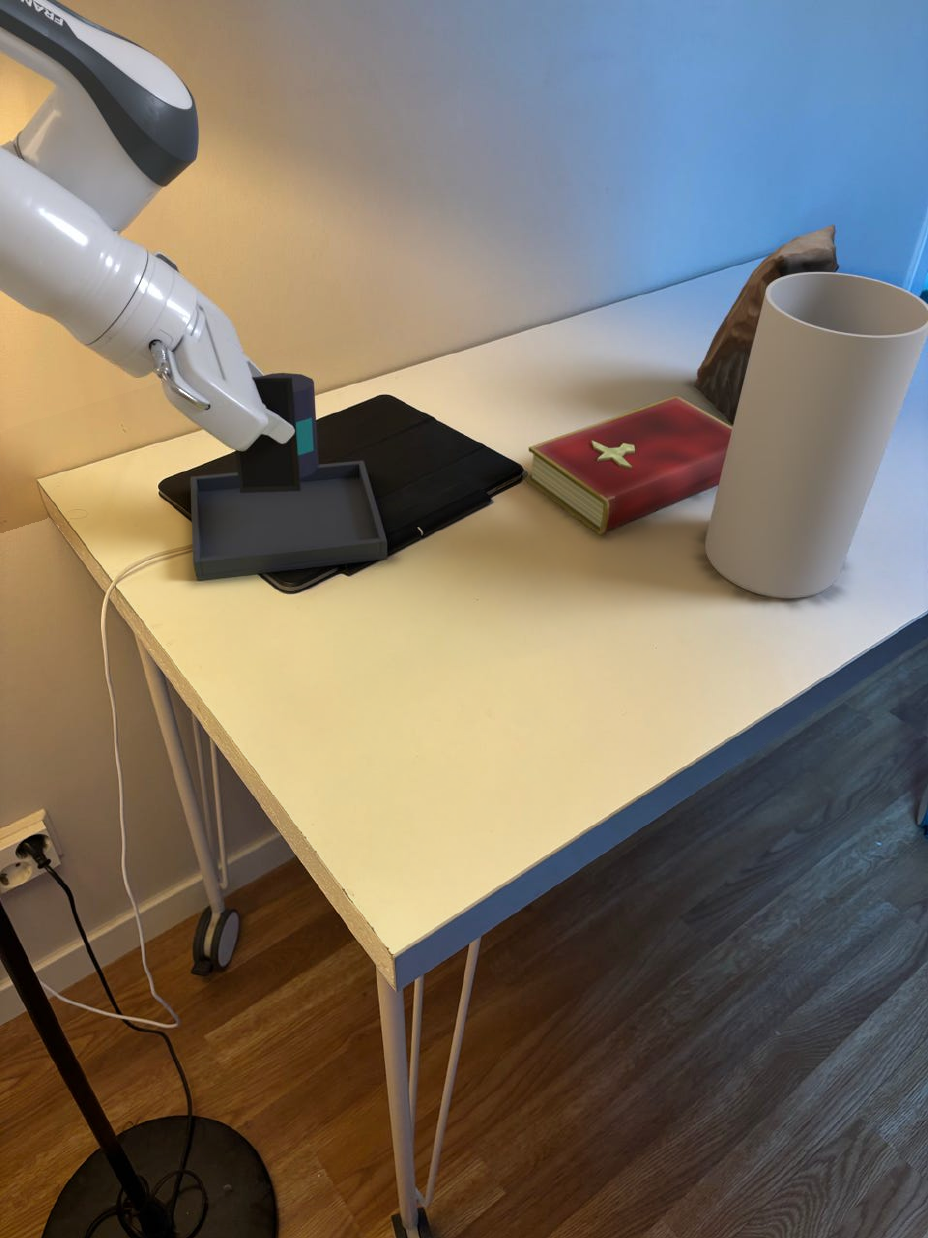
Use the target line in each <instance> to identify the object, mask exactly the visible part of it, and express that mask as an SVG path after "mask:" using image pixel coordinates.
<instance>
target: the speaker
mask: <svg viewBox="0 0 928 1238" xmlns="http://www.w3.org/2000/svg"><path fill="white" fill-rule="evenodd" d="M252 379H253V380H254V382H255V385H256V388H257V390H258V393H259V396H260V398H261V401H262V403H263V404H264V405H265V406H266V409H268V410H270V411H272V412H273V413H275V414H277V413H280V414H281V415H282V416H283V417H284V418H286V419H287V420H288V421H289V422H290V423H291V424H292V425H293V428H294V430H295V433H294V435H293V436H292V437H291V438H290V439H289V440H288V441H287V442H286V443H284V444H281V443H279V442H277V441H276V440H274V439H273V438H271V437H270V436H268V435H264V434H261V435H260V436H259V437H258V438H257V439H256V440H255V441H254V443H253V444H252V445H251V446H250V447H249V448H248V449H247V450H245V451H237V450H234V453H235V460H236V461H235V462H236V471H237V472H238V479H239V487H240V493H254V492H289V491H301V488H300V478H302V477H305V476H308V475H311V474H313V473H314V472H315V470H316V469H317V468H318V467H319V465H320V464H319V447H318V445H319V444H318V429H317V409H316V391H315V381H314V379H313V378H311V377H309V376H306V375H304V374H301V373H291V372H290V373H289V372H276V373H273V372H272V373H268V374H265V375H264V376H260V377H252Z"/></svg>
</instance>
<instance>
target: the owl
mask: <svg viewBox="0 0 928 1238" xmlns="http://www.w3.org/2000/svg"><path fill="white" fill-rule="evenodd" d="M836 233H837V230H836V225H835V224H830V225H827V226H825V227H823V228H820V229H818V230H815V231H813V232H809V233H806V234H803V235H800V236H796V237H793V239H791V240H790V241H788V242H787V243H784V244H783V245H781V246H780V247H778V248H777V249H776V250H775V251H774V252H772V253H770V254H769V255H768V256H766V257H765V258H764V259H763V260H762V261H761V262H760V263H759V265H757V266H756V268H754V269H753V271H752V272H751V274H750V276H749V278H748V279H747V281H746V282H745V283H744V285H743V287H742V288H741V290H740V292H739V294H738V295H737V297H736V299H735V301H734V302H733V304H732V305H731V307H730V309H729V311H728V313H727V315H725V317H724V319H723V321H722V322H721V325H720V326H719V328H718V330H717V331H716V332H715V334H714V336H713V339H712V340H711V343H710V345H709V347H708V350H707V352H706V354H705V356H704V359H703V360H702V362H701V364H700V366H699V367H698V368H697V371H696V376H697V377H696V381H695V382H694V384H693V386H694V387H695V388H696V389H698V391H700V392H701V393H702V395H704V396H705V398H706V399H707V400H708V401H709V402H711V403H712V404H713V405H714V406H715V409H716V410H717V411H719V412H720V413H722V414H723V415H725V416H726V419H727V421H728V422H729V423H731V424H732V425H733V424H734V420H735V416H736V412H737V408H738V404H739V399H740V395H741V391H742V387H743V383H744V379H745V375H746V371H747V366H748V362H749V358H750V354H751V350H752V346H753V342H754V338H755V334H756V329H757V325H758V321H759V317H760V313H761V309H762V305H763V301H764V297H765V292H766V289H767V287H768V285H769V284H770V283H772V282H773V281H775V280H776V279H779V278H781V277H784V276H787V275H792V274H798V273H807V272H832V273H837V271H838V270H839V269H840V264H838V258H837V246H836V245H835V235H836Z"/></svg>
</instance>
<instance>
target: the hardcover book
mask: <svg viewBox="0 0 928 1238" xmlns="http://www.w3.org/2000/svg"><path fill="white" fill-rule="evenodd" d="M732 428H733V426H731V425H730V424H728V423H726V422H724V421H722V420H721V419H719V418H717V417H716V416H714V415H712V414H710V413H709V412H707V411H705V410H703V409H702V408H699V407H698V406H697V405H695V404H692V402H689V401H687V400H686V399H684V398H682V397H680V396H678V395H676V394H675V395H674V396H671V397H668V398H665V399H663V400H659V401H657V402H654V403H651V404H648V405H645V406H643V407H640V408H637V409H633V410H631V411H628V412H626V413H622V414H620V415H619V414H618V415H617V416H614V417H611V418H608V419H605V420H602V421H600V422H596V423H594V424H591V425H588V426H585V427H583V428H580V429H577V430H574V431H571V432H568V433H565V434H562V435H560V436H556V437H555V438H550V439H549V440H546V441H542V442H540V443H537V444H534V445H531V446H528V452H530V453H531V454H532V455H533V456H532V457H533V458H532V469H531V475H528V476H526V477H525V481H526V482H528V483H529V484H530V485H532V486H533V487H534V488H536V489H537V490H538V491H539V492H541V493H542V494H544V495H545V496H546V497H548V498H549V499H550V500H551V501H553V502H555V504H557V505H559V506H560V507H561V508H563V509H564V510H565V511H566V512H568V513H569V514H570V515H572V516H574V518H576V519H577V520H578V521H580V522H582V524H584V525H585V526H587V527H588V528H589V529H591V530H592V531H594V532H595V533H596V534H598V535H599V536H600V535H601V536H602V535H603V534H605V533H607V532H610V531H612V530H615V529H617V528H619V527H622V526H624V525H626V524H630V523H631V522H634V521H636V520H638V519H641V518H643V517H646V516H648V515H650V514H653V513H655V512H657V511H660V510H663V509H664V508H667V507H669V506H671V505H674V504H677V503H678V502H681V501H684V500H686V499H689V498H691V497H693V496H696V495H698V494H701V493H702V492H705V491H707V490H709V489H712V488H714V487H718V486H719V482H720V478H721V474H722V469H723V465H724V461H725V457H726V453H727V449H728V445H729V441H730V436H731V432H732Z"/></svg>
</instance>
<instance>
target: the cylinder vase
mask: <svg viewBox="0 0 928 1238" xmlns="http://www.w3.org/2000/svg"><path fill="white" fill-rule="evenodd" d="M927 338H928V303H927V302H926V301H925V300H924V299H922V298H921V297H919V296H918V295H916V294H915V293H913V292H910V291H909V290H906V289H904V288H902V287H899V286H897V285H895V284H893V283H889V282H886V281H882V280H880V279H876V278H871V277H867V276H862V275H856V274H849V273H842V272H835V273H832V272H807V273H798V274H792V275H787V276H784V277H781V278H779V279H776V280H775V281H773V282H772V283H770V284H769V285H768V287H767V289H766V292H765V297H764V301H763V305H762V309H761V313H760V317H759V321H758V325H757V329H756V334H755V338H754V342H753V346H752V350H751V354H750V358H749V362H748V366H747V371H746V375H745V379H744V383H743V387H742V391H741V395H740V399H739V404H738V408H737V412H736V416H735V420H734V424H732V427H733V428H732V432H731V436H730V441H729V445H728V449H727V453H726V457H725V461H724V465H723V469H722V474H721V478H720V482H719V485H717V491H716V495H715V498H714V503H713V507H712V511H711V515H710V518H709V523H708V527H707V531H706V537H705V539H704V548H705V549H704V550H705V553H706V556H707V559H708V560H709V562H710V564H711V565H712V567H713V568H714V569H715V571H717V572H718V573H719V574H720V575H721V576H722V577H723V578H724V579H726V580H728V581H729V582H731V583H732V584H733V585H735V586H737V587H739V588H742V589H743V590H746V591H748V592H751V593H755V594H758V595H760V596H766V597H771V598H778V599H800V598H801V599H802V598H806V597H810V596H814V595H817V594H820V593H823V592H824V591H826V590H827V589H828V588H830V587H831V586H833V584H835V583H836V582H837V580H838V578H839V577H840V575H841V573H842V569H843V567H844V564H845V561H846V559H847V556H848V553H849V550H850V547H851V546H852V542H853V541H854V540H853V539H854V537H855V533H856V532H857V529H858V526H859V523H860V520H861V518H862V516H863V513H864V509H865V508H866V504H867V502H868V499H869V496H870V494H871V491H872V488H873V485H874V482H875V480H876V477H877V475H878V472H879V469H880V466H881V464H882V461H883V458H884V455H885V454H886V450H887V447H888V445H889V442H890V440H891V436H892V434H893V431H894V428H895V425H896V423H897V420H898V417H899V414H900V412H901V409H902V407H903V403H904V402H905V398H906V395H907V393H908V390H909V388H910V384H911V382H912V379H913V376H914V374H915V371H916V368H917V365H918V363H919V360H920V357H921V355H922V352H923V350H924V347H925V344H926V341H927Z"/></svg>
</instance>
